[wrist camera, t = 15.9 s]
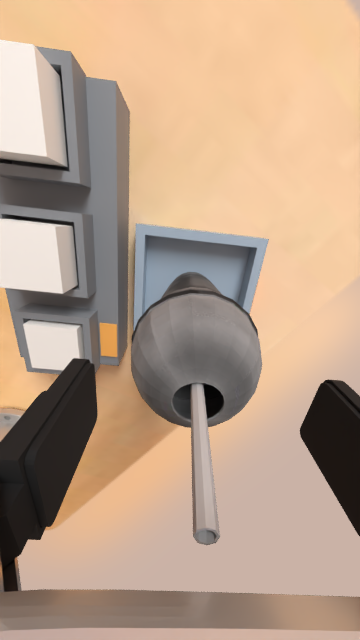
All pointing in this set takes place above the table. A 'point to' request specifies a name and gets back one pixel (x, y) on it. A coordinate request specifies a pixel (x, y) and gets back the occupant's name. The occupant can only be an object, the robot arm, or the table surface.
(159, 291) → the tray
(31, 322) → the block
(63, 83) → the grey switch block
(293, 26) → the table surface
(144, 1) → the table surface
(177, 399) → the beverage cup
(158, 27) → the table surface
